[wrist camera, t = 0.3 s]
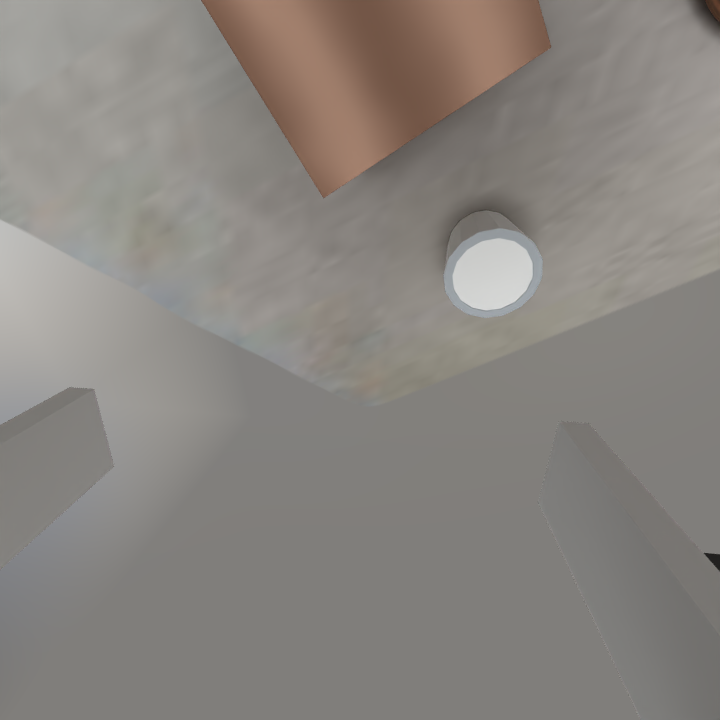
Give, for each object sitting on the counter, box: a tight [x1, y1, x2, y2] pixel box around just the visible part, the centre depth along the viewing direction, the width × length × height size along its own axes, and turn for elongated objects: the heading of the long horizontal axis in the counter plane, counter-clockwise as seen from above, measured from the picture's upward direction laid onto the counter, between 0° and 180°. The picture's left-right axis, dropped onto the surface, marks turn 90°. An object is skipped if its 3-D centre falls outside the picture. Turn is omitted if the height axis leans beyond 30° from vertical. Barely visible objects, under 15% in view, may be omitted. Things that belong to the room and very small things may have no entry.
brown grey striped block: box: [201, 0, 551, 198], centre depth 21 cm, size 12×12×12 cm
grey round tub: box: [443, 210, 543, 318], centre depth 30 cm, size 7×7×7 cm
